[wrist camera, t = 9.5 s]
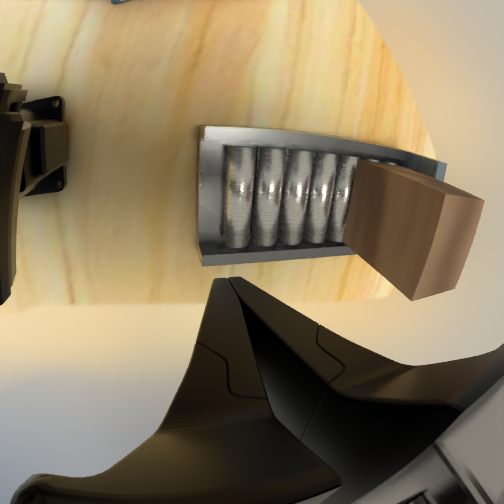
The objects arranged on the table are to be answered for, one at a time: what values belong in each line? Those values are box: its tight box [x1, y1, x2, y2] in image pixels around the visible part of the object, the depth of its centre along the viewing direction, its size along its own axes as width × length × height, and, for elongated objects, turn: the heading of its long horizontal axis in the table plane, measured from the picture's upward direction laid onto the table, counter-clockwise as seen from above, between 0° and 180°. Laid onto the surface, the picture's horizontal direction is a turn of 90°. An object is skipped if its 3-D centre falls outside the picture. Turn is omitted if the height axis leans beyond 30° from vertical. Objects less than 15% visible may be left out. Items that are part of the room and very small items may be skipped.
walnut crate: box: [342, 159, 484, 301], centre depth 17 cm, size 5×6×8 cm
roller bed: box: [197, 125, 447, 266], centre depth 19 cm, size 17×9×6 cm, turn 86°
